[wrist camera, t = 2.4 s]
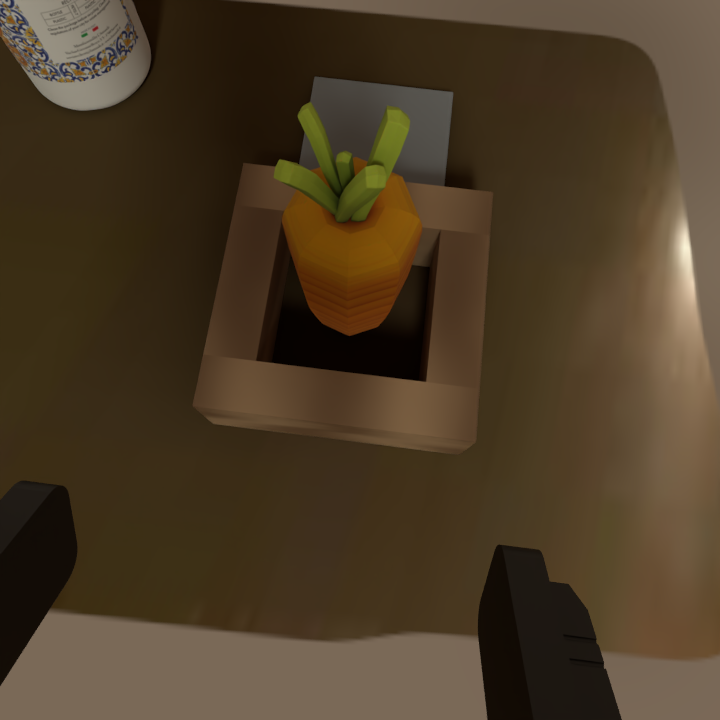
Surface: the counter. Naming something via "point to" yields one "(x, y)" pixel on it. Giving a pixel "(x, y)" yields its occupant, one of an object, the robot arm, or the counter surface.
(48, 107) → the counter surface
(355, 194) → the carrot
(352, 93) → the plate
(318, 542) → the counter surface
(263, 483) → the counter surface
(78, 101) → the bath foam
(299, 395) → the holder
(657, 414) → the counter surface
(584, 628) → the robot arm
